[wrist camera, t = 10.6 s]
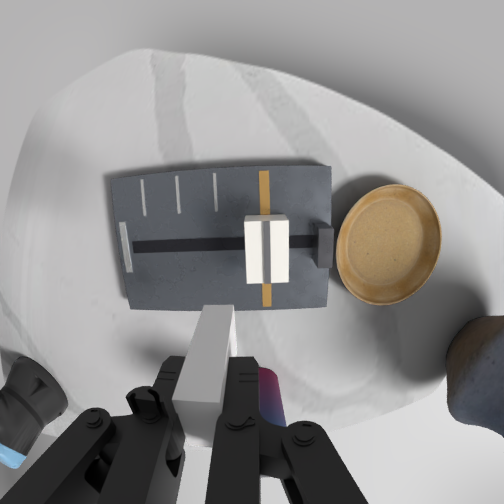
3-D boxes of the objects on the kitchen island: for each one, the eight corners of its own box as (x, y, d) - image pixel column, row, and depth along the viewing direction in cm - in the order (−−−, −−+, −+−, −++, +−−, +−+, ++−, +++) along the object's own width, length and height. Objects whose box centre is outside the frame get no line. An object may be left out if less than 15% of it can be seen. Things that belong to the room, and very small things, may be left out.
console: (136, 302, 34) (121, 320, 29) (118, 178, 30) (97, 181, 25) (322, 299, 34) (332, 319, 29) (326, 166, 29) (339, 165, 24)
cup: (234, 364, 37) (225, 451, 22) (283, 361, 36) (293, 448, 22) (239, 396, 39) (233, 477, 24) (284, 393, 38) (292, 475, 24)
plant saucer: (447, 232, 31) (458, 237, 29) (383, 315, 35) (390, 325, 32) (380, 157, 29) (389, 156, 26) (305, 254, 32) (309, 261, 30)
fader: (247, 270, 30) (246, 284, 27) (245, 215, 28) (244, 222, 25) (285, 269, 30) (288, 283, 27) (284, 214, 28) (289, 220, 25)
